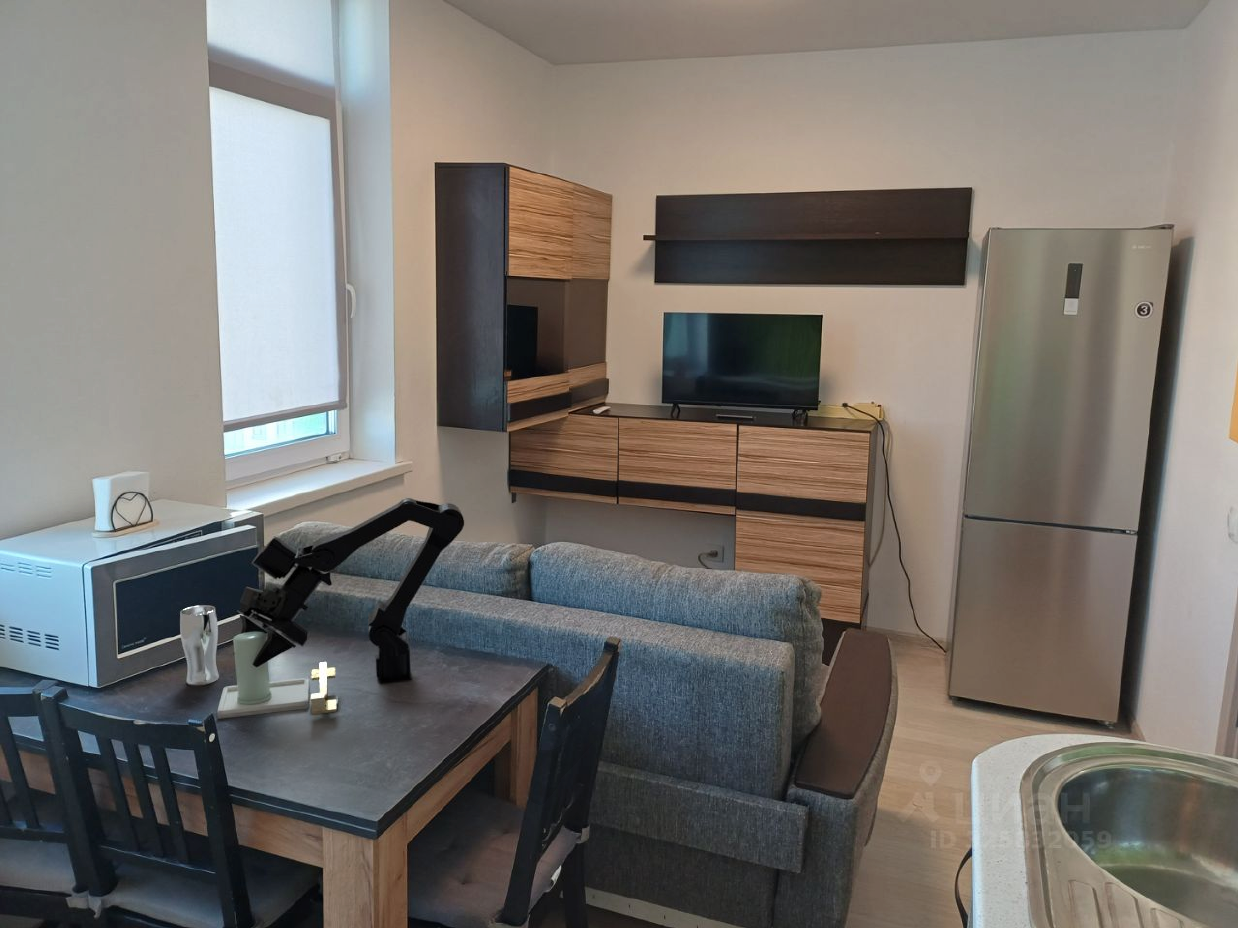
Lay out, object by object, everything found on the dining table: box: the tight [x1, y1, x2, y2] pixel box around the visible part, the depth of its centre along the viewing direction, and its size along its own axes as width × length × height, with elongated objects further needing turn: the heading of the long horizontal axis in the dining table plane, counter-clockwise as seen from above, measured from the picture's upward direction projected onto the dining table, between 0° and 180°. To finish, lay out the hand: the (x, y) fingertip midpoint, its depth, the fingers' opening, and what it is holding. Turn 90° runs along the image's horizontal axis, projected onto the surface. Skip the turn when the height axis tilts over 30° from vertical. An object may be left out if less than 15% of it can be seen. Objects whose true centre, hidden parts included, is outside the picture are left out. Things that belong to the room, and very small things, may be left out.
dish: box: [217, 677, 310, 720], centre depth 178 cm, size 16×12×2 cm
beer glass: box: [179, 604, 220, 686], centre depth 187 cm, size 7×7×15 cm
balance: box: [310, 661, 339, 715], centre depth 175 cm, size 5×15×7 cm, turn 18°
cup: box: [232, 632, 272, 705], centre depth 177 cm, size 6×6×12 cm
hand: (244, 660), depth 175 cm, fingers open, 8 cm apart
